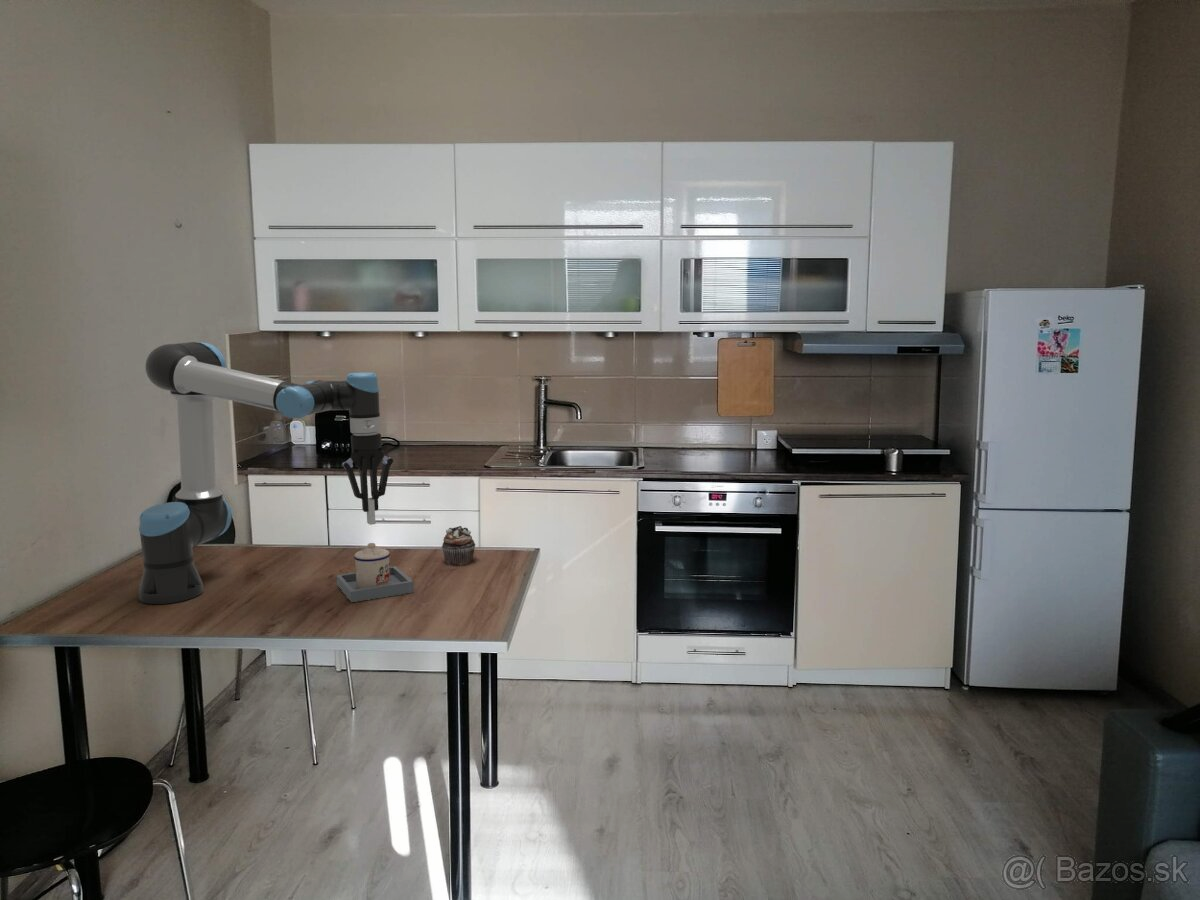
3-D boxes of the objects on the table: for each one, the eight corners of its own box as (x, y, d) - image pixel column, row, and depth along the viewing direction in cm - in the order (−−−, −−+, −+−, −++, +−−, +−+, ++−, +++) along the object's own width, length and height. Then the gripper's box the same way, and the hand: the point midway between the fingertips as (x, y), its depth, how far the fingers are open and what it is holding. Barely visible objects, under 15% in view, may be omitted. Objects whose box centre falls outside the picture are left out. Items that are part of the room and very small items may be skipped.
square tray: (351, 603, 226) (350, 591, 225) (337, 586, 240) (336, 575, 239) (413, 592, 233) (413, 581, 233) (396, 576, 247) (395, 566, 247)
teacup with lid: (381, 593, 230) (379, 549, 228) (349, 591, 232) (346, 547, 230) (402, 579, 241) (400, 537, 239) (371, 577, 243) (368, 535, 241)
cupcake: (435, 562, 260) (433, 528, 259) (461, 555, 268) (459, 522, 266) (456, 568, 254) (455, 533, 253) (482, 560, 261) (481, 527, 260)
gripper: (343, 437, 223) (349, 529, 227) (395, 432, 229) (400, 523, 233) (336, 433, 230) (342, 523, 234) (387, 429, 236) (392, 517, 240)
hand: (371, 523), depth 233 cm, fingers closed
